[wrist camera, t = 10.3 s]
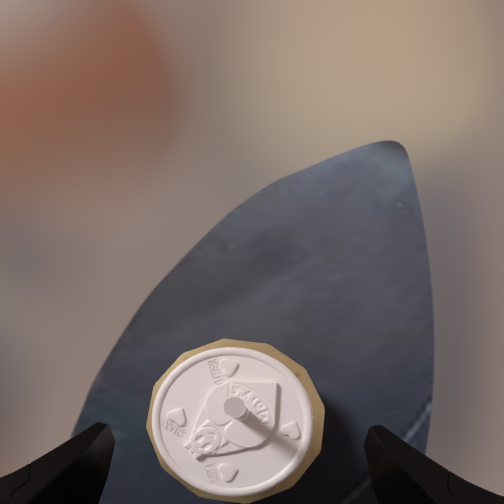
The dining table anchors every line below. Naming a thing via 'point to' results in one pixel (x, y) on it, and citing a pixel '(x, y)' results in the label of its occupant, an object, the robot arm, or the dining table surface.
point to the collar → (313, 397)
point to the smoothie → (232, 421)
